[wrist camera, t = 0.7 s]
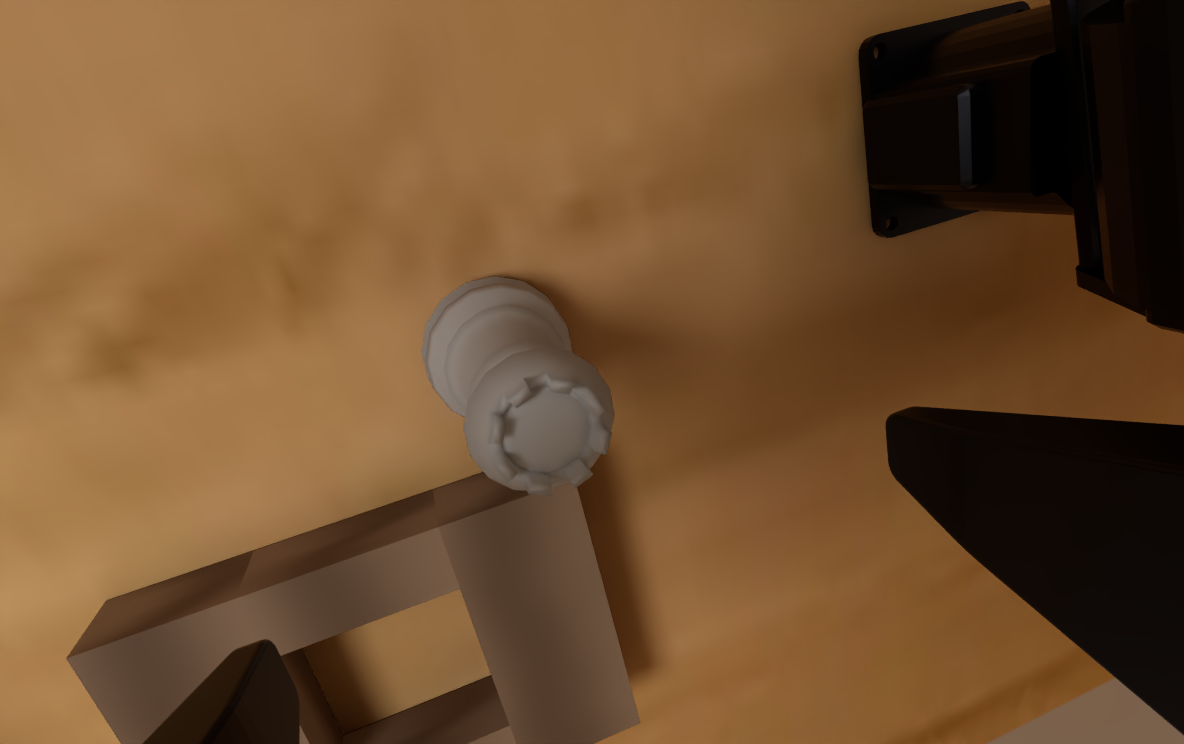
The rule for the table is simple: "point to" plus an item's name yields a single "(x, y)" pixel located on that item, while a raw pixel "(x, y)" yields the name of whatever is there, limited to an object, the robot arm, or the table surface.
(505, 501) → the socket board
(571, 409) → the rook chess piece
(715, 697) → the table surface
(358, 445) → the table surface
